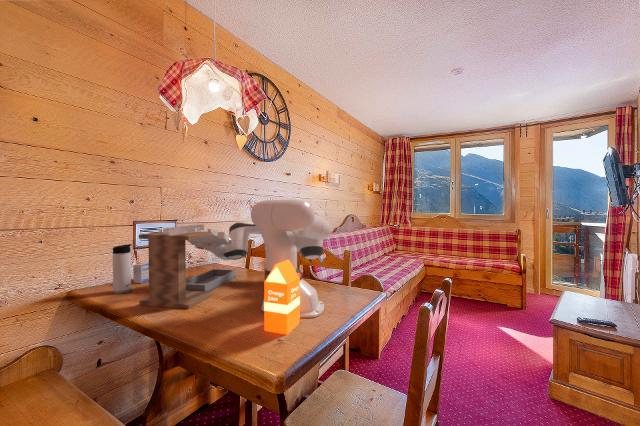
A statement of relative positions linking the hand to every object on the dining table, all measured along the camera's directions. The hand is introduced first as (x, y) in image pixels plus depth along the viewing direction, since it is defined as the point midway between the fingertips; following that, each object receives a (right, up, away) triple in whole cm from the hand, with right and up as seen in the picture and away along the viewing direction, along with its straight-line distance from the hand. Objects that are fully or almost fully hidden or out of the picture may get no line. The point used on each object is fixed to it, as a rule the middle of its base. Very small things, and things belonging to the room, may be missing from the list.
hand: (199, 230), depth 122 cm
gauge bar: (-1, 0, -10) cm, 10 cm away
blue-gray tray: (+2, -26, +8) cm, 27 cm away
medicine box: (-32, -26, +12) cm, 43 cm away
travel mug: (-31, -26, -4) cm, 41 cm away
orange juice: (+42, -27, -37) cm, 62 cm away
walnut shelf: (-2, -26, -14) cm, 30 cm away
